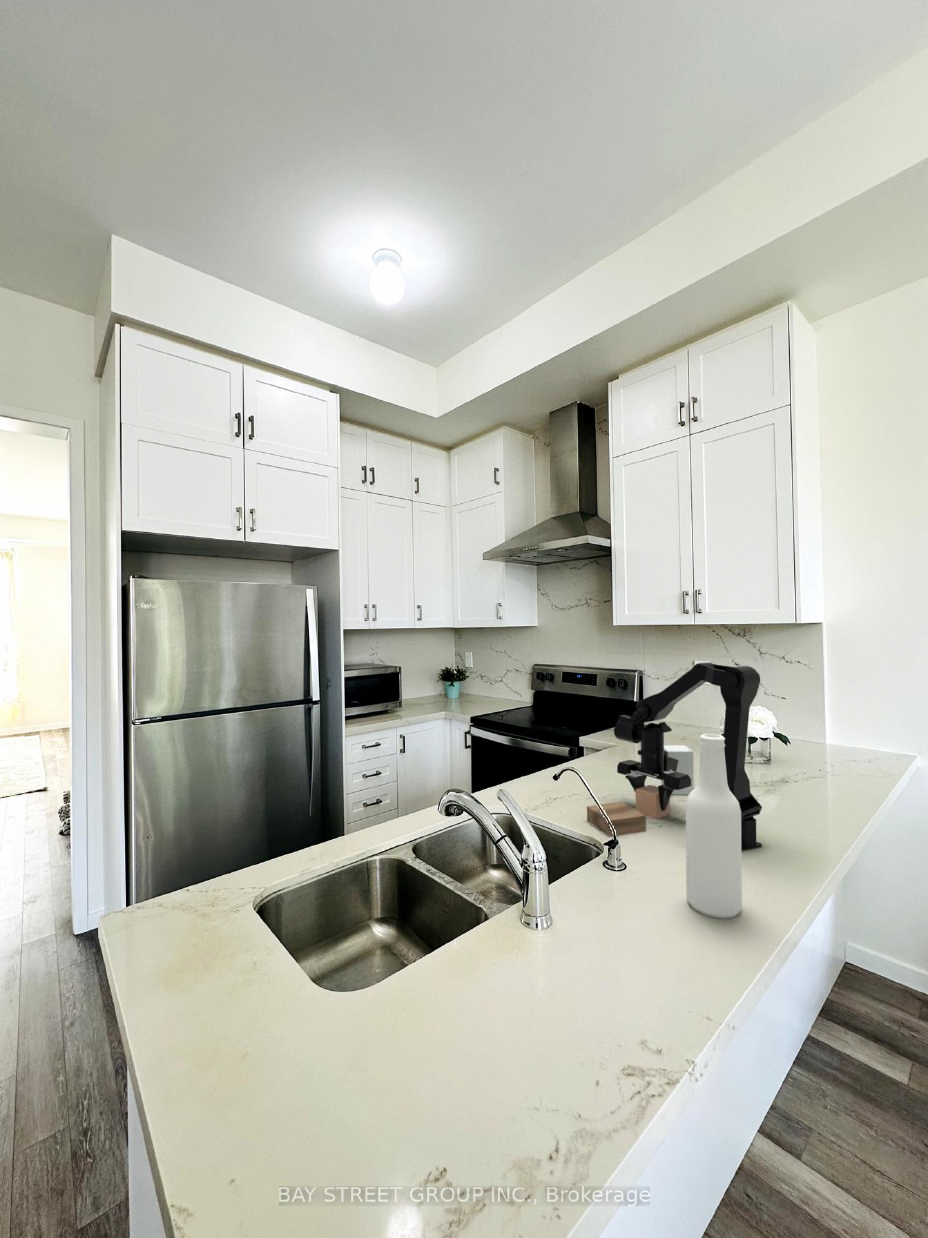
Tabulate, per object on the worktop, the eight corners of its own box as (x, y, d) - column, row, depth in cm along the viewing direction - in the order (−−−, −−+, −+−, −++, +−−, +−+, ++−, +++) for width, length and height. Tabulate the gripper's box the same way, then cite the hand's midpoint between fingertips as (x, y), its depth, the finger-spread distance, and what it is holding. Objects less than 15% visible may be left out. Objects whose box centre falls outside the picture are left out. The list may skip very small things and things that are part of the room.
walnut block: (646, 832, 126) (645, 815, 126) (609, 838, 123) (609, 820, 123) (621, 817, 136) (621, 802, 136) (587, 822, 133) (586, 806, 133)
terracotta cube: (669, 813, 137) (669, 790, 137) (655, 819, 134) (655, 795, 134) (650, 807, 142) (649, 784, 142) (635, 812, 139) (635, 789, 139)
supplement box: (686, 787, 158) (685, 745, 158) (694, 795, 151) (694, 751, 151) (660, 786, 159) (660, 744, 159) (667, 795, 152) (667, 750, 152)
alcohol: (739, 926, 87) (738, 744, 87) (682, 911, 92) (681, 738, 92) (743, 901, 95) (742, 733, 95) (690, 888, 99) (689, 728, 99)
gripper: (703, 749, 135) (703, 810, 135) (641, 736, 150) (641, 791, 150) (677, 756, 128) (678, 820, 128) (615, 741, 144) (616, 799, 144)
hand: (652, 807), depth 138 cm, fingers closed on terracotta cube, 6 cm apart
